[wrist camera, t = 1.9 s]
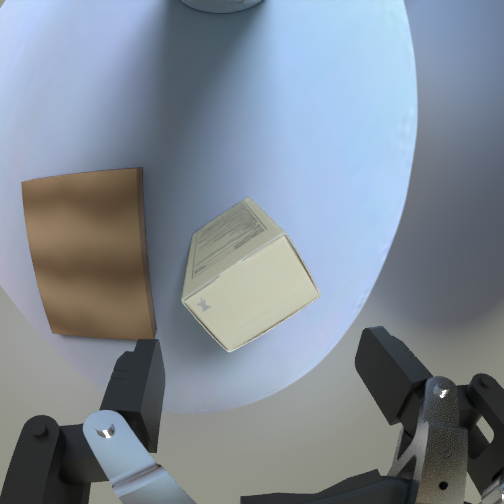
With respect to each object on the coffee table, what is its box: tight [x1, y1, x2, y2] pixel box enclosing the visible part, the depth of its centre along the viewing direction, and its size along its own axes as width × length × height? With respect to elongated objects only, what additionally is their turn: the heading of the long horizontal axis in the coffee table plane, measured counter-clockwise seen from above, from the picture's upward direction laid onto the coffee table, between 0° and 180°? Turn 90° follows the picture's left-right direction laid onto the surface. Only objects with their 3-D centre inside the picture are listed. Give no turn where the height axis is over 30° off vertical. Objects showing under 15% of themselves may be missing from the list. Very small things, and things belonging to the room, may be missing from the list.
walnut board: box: [21, 167, 157, 340], centre depth 23 cm, size 16×12×2 cm
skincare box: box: [181, 197, 321, 352], centre depth 20 cm, size 6×4×12 cm
